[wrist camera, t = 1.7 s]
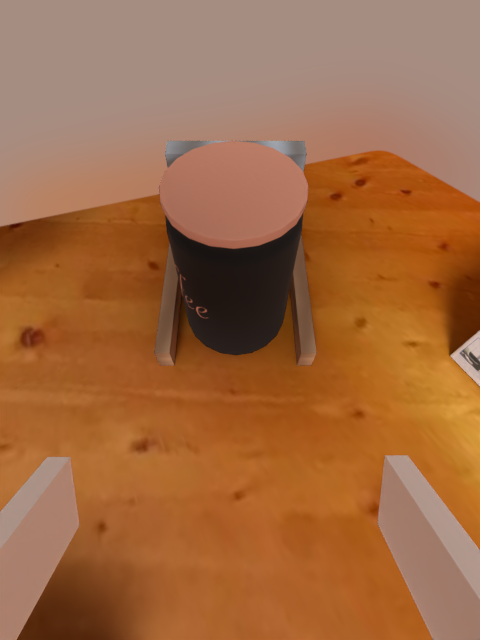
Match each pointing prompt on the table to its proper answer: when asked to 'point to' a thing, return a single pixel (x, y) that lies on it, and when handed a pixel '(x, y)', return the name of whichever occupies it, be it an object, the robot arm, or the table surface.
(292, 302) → the channel
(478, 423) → the table surface
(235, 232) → the coffee jar
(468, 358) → the light bulb box
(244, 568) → the table surface
